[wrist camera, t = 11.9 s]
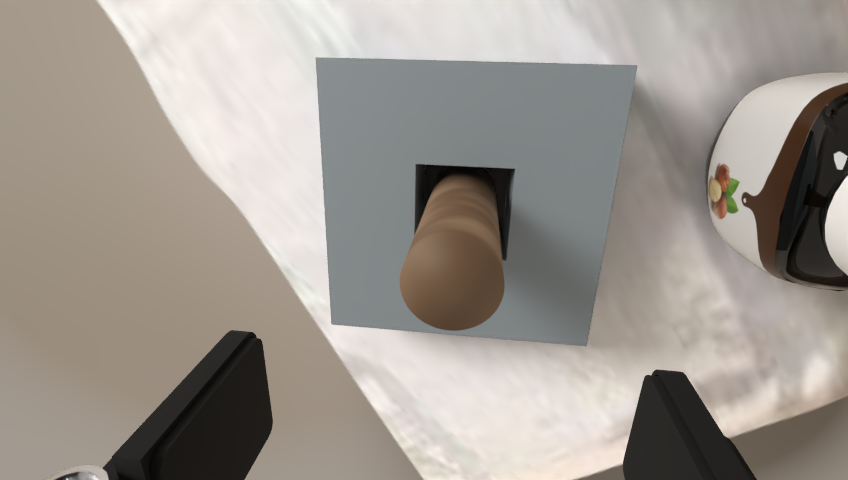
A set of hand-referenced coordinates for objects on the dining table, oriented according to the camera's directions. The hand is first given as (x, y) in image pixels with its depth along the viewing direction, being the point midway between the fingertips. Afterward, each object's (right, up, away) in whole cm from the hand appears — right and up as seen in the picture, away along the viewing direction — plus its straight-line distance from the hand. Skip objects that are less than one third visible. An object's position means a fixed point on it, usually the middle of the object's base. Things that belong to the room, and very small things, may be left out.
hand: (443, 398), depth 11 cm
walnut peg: (+2, +7, +19) cm, 21 cm away
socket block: (+2, +7, +19) cm, 21 cm away
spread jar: (+22, +8, +17) cm, 29 cm away
